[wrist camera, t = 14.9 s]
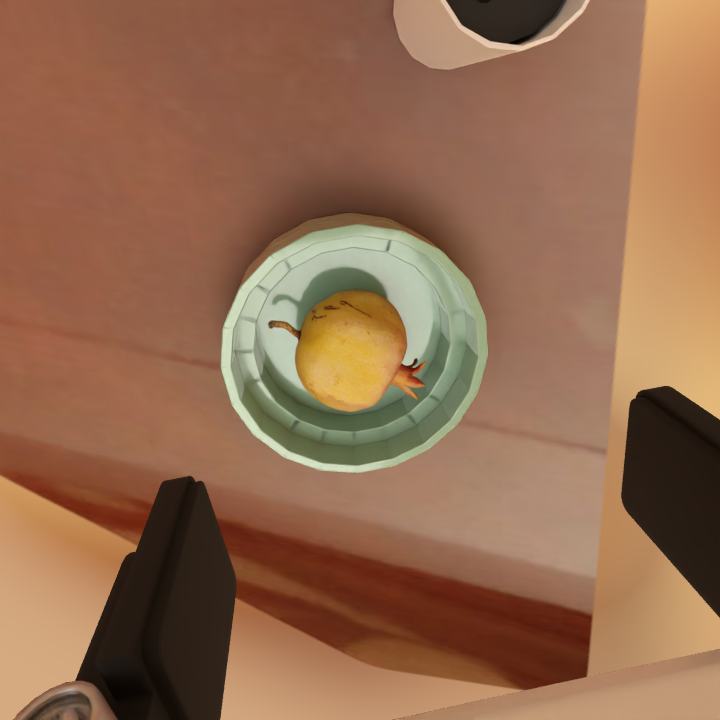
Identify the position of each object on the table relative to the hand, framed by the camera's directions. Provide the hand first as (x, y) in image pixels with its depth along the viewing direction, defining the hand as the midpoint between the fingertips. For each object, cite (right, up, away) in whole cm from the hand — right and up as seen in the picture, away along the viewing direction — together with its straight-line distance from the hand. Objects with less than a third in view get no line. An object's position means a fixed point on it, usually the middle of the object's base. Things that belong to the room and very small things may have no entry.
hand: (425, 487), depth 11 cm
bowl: (-2, +5, +23) cm, 23 cm away
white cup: (+3, +22, +16) cm, 27 cm away
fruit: (-2, +5, +22) cm, 23 cm away
